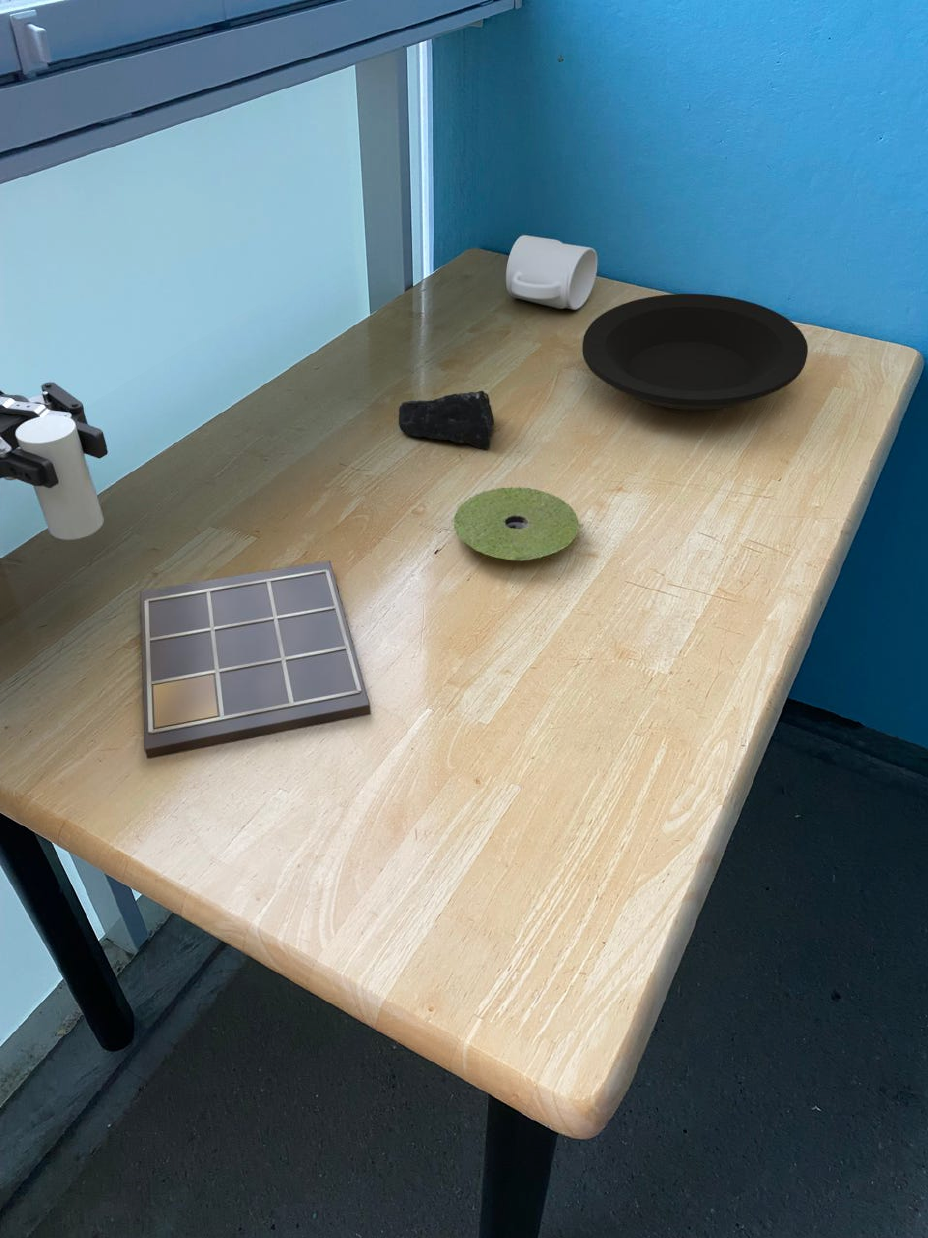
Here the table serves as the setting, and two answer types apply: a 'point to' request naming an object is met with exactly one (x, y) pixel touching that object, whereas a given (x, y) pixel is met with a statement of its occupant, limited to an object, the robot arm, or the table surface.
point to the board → (246, 658)
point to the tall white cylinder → (63, 477)
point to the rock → (450, 418)
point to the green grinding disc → (516, 523)
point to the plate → (694, 350)
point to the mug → (551, 272)
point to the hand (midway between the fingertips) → (77, 459)
